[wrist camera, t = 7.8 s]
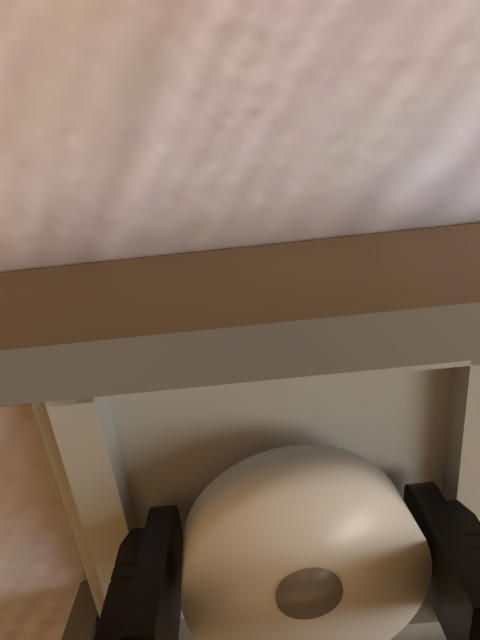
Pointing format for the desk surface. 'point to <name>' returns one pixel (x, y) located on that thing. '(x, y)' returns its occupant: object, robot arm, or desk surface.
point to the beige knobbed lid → (302, 551)
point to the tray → (247, 372)
